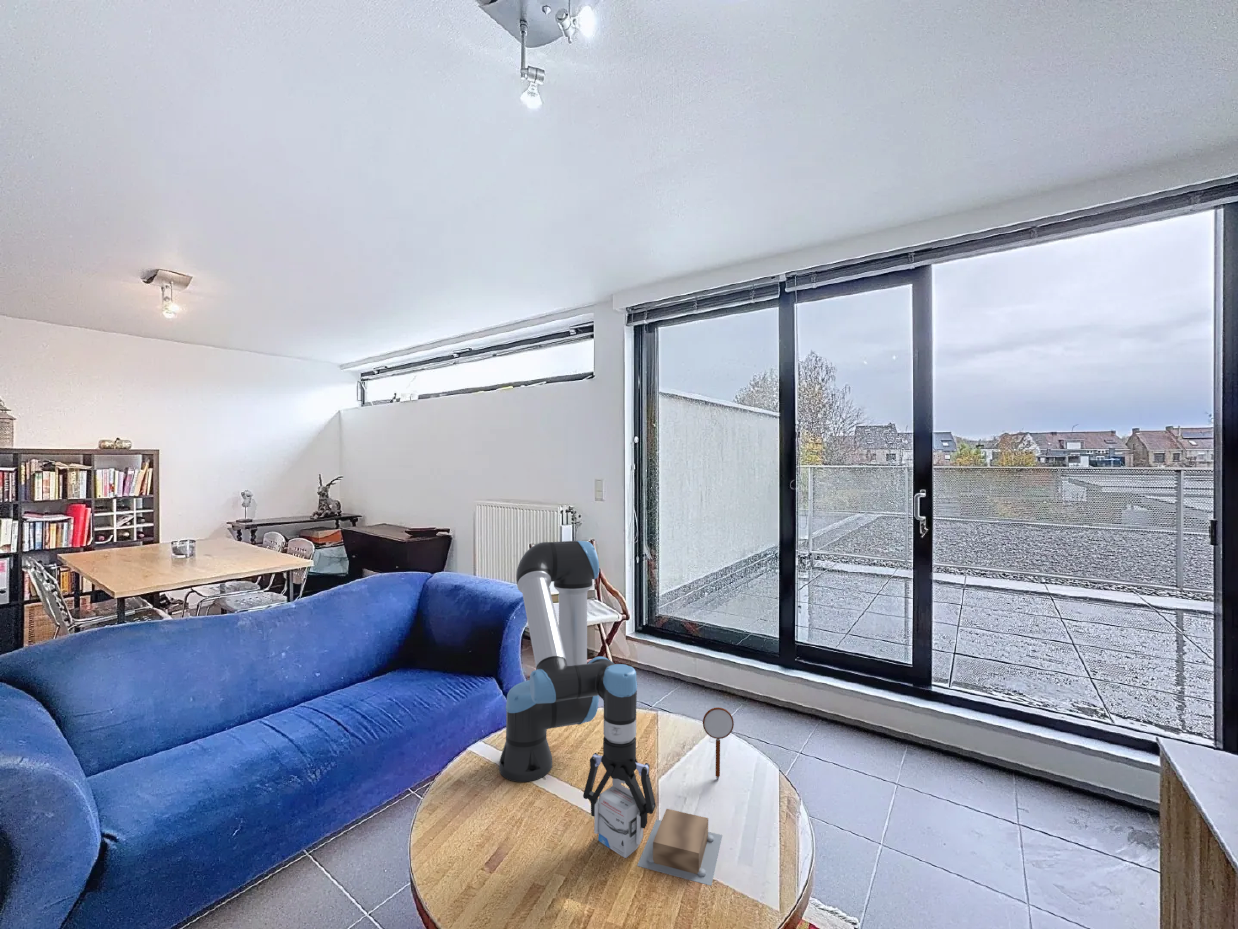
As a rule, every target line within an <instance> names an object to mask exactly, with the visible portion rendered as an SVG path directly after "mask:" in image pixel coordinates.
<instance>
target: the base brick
mask: <svg viewBox="0 0 1238 929" xmlns="http://www.w3.org/2000/svg"><path fill="white" fill-rule="evenodd" d="M708 832H709V818H708V817H704V816H701V815H696V814H691V813H688V812H683V811H678V810H675V809H670V808H666V809H665V811H664V814H663V816H662V819H661V824H660V826H659V829H658V831H657V834H656V836H655V839H654V841H653V861H654V863H656V864H660V865H664V866H667V867H671V868H675V869H679V870H682V871H686V872H690V873H694V874H698V872H699V869H700V868H701V864H702V860H703V856H704V852H705V848H706V844H707V838H708Z"/></svg>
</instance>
